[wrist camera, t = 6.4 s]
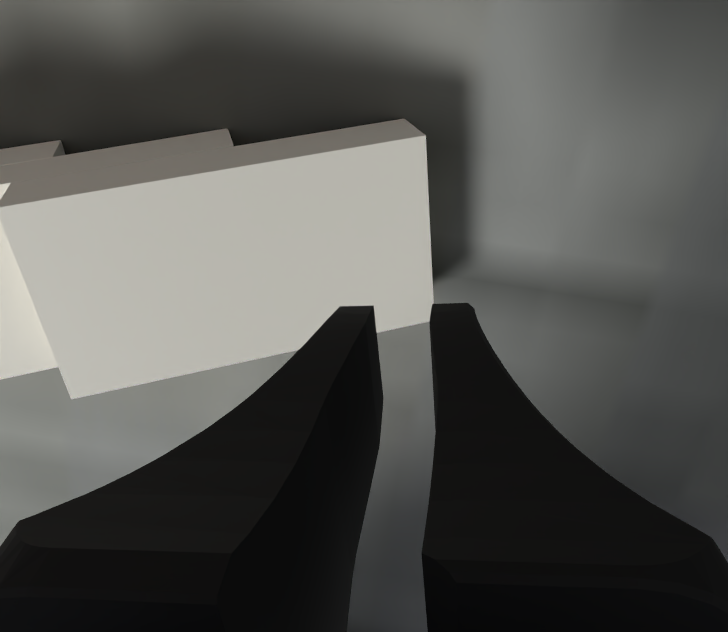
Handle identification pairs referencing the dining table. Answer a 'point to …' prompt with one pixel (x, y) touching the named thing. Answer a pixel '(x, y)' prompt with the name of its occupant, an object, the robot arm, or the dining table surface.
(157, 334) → the domino
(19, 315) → the domino
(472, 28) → the dining table surface
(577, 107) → the dining table surface
